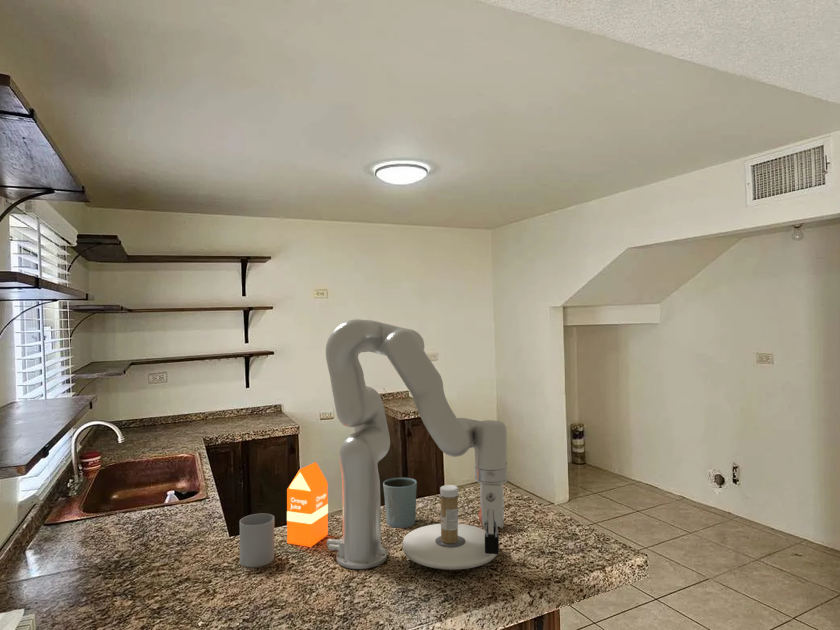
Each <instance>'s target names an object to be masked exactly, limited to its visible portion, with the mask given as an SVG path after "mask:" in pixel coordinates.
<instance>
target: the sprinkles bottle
mask: <svg viewBox="0 0 840 630" xmlns="http://www.w3.org/2000/svg"><path fill="white" fill-rule="evenodd" d="M439 495H440V524H441V541H442V542H444V543H456V542H457V541H458V524H459V507H458V506H459V505H458V503H459V502H458V497H459V488H458V486H456V485H454V484H445V485H442V486H440V487H439Z"/></svg>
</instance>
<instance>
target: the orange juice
mask: <svg viewBox="0 0 840 630" xmlns="http://www.w3.org/2000/svg"><path fill="white" fill-rule="evenodd" d="M328 484H329V482H328V481H327V479H326V477H325V475H324V473H323V471H322V470H321V468H320V466H319V465H318V463H317V462H316V461H315V462H313V463H310V464H309V465H306V466H304V467H302V468H299V470H298V472H297V473H296V475H295V476H294V478H293V479H292V481H291V483H290V484H289V485H288V487H287V489H286V535H287V536H286V543H287V544H290V545H296V546H304V547H309V548H311V547H313V546H314V545H315V544H317V543H318V542H319V541H321V540H322V539H324V538H325V537H326V536H328V535H329V531H328V530H329V528H328V527H329V522H328V521H329V520H328V519H329V517H328V516H329V515H328V514H329V501H328V500H329V497H328V493H329V492H328V490H329V486H328Z"/></svg>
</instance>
